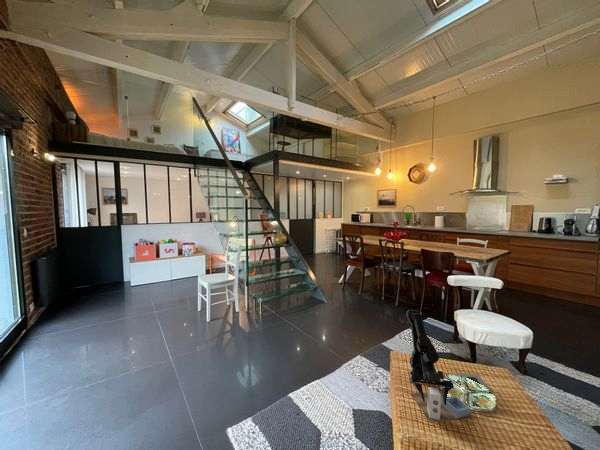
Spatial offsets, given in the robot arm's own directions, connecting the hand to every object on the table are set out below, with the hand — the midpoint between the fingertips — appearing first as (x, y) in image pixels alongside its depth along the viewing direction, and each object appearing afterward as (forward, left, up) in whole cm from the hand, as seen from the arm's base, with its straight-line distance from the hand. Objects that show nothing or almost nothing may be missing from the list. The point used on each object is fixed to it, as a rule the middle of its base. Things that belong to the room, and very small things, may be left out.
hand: (434, 403), depth 113 cm
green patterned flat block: (-18, +37, -8) cm, 42 cm away
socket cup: (-3, +13, -7) cm, 15 cm away
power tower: (-1, 0, -7) cm, 7 cm away
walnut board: (-6, +7, -8) cm, 12 cm away
